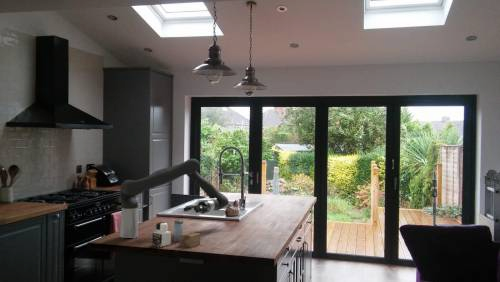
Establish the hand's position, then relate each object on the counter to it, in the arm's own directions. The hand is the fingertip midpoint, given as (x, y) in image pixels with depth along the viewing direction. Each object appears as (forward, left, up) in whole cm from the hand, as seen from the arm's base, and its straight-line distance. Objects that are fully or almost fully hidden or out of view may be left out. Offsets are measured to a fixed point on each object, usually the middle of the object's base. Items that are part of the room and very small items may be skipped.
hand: (190, 210), depth 249 cm
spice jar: (0, -10, -16) cm, 19 cm away
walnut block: (+12, -15, -16) cm, 25 cm away
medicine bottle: (-1, -23, -16) cm, 28 cm away
